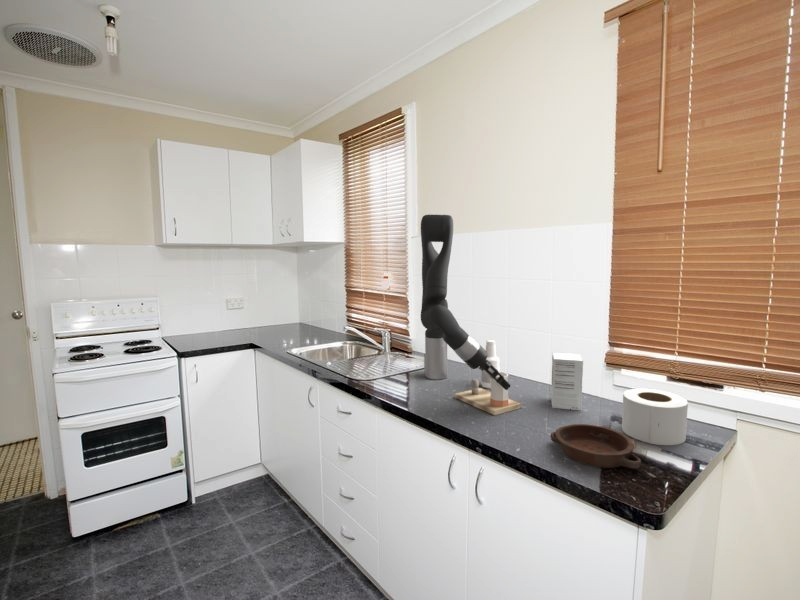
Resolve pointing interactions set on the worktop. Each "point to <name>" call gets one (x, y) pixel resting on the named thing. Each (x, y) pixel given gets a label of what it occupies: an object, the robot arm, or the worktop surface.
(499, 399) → the sleeve
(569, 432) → the dish
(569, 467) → the worktop surface
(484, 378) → the spray bottle
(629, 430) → the white paper roll
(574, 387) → the supplement box
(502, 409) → the pin board
